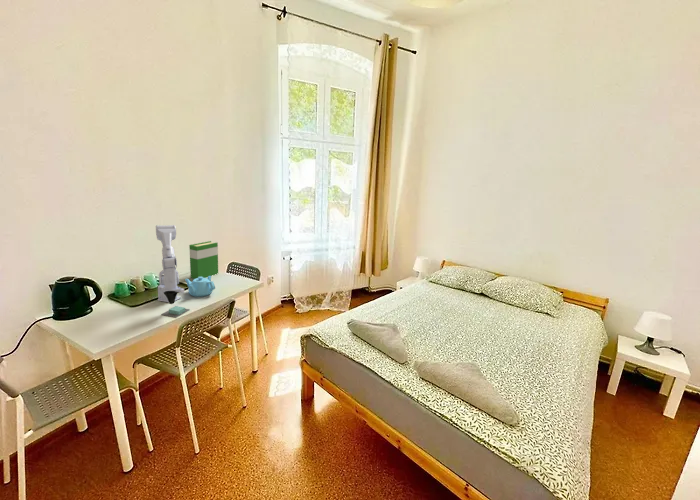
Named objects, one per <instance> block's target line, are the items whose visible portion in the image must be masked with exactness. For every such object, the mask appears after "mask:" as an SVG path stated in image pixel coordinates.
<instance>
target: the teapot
mask: <svg viewBox="0 0 700 500" xmlns="http://www.w3.org/2000/svg"><path fill="white" fill-rule="evenodd" d="M184 280H185V283H186V285H187V288H188V293H189V295H191V296H192V297H196V298H199V297H200V298H201V297H207V296H209V295H210V294H212V292H213V291H214V290H215V289H216V286H215V282H214V280H212V276H208V277H206V278H203V277H198V278H196V279H192V281H191V280H190V279H189V278H185V279H184ZM211 280H212V281H211Z"/></svg>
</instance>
